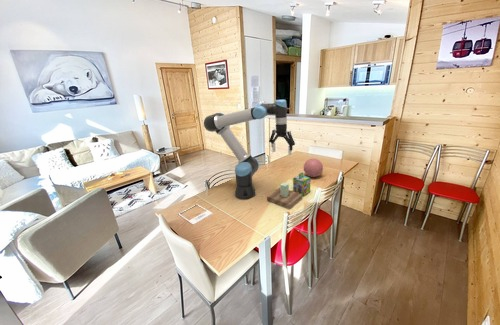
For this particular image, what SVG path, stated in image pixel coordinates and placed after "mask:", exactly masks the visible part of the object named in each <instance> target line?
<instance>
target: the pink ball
mask: <svg viewBox="0 0 500 325" xmlns="http://www.w3.org/2000/svg"><path fill="white" fill-rule="evenodd" d="M323 170H324V165H323V163H322V162H321V161H320V159H318V158H310V159H308V160H306V161H305V162H304V164H303V171H304V174H306V175H307V177H309V178H316V177H319V176H320V175H321V174H322V172H323Z"/></svg>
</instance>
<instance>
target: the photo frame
mask: <svg viewBox="0 0 500 325" xmlns="http://www.w3.org/2000/svg"><path fill="white" fill-rule="evenodd" d="M195 205H196V206H197V207H199V208H200V207H201V209H202V210H203V212H202V213H200V214H198V215H196V216H195V217H193V218H191V219H188V218H187V217H185V216H183V215H182V214H181V213H184V212H186V211H187V210H189V209H191V208H193V207H195ZM195 205H192V206H191V207H189V208H186V209H185V210H182V211H181V212H179V213H178V214H179V215H178V216H180V217H181V218H182V219H184V220H185V221H187V222H189V223H190V224H191V225H192V226H194V225H196V224H197V223H199V222H201V221H203V220H205V219H206V218H208V217H211V215H213V212H212V211H210V210H208V209H206V208H205V207H203V206H201V205H199V204H198V203H197V204H195ZM204 218H205V219H204Z"/></svg>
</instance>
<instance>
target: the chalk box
mask: <svg viewBox="0 0 500 325" xmlns="http://www.w3.org/2000/svg"><path fill="white" fill-rule="evenodd" d="M311 178H312V177H310V176H308V175H307V176H306V175H304V173H303V172H300V173H299V174H298V175H297V176H294V177H293V178H292V187H293V188H292V190H293V192H296V193H300V194H302V197H305V196H306V195H308V194H309V193H311Z"/></svg>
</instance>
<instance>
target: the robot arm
mask: <svg viewBox="0 0 500 325" xmlns="http://www.w3.org/2000/svg"><path fill="white" fill-rule="evenodd" d="M287 110H288V106H287V100H286V99H276V100H275V101H274V103H259V104H257V106H254V107H250V108H247V109H242V110H239V111H235V112H230V113H226V114H225V113H222V112H216V113H213V114H211V115H208V116H206V117H204V120H203V127H204V128H205V130H206V131H208V132H212V133H213V132H215V134H216V135H219V136H220V137H221V138H222V139H223V140H224V142H225V143H226V145H227V146H228V148H229V149H230V151H231V152H232V153H233V155H234V156H235V158H236V159H237V160H238V163H237V164H236V165H235V167H234V173H235V182H236V187H235V190H234V191H235V192H234V195H235V197H236V198H237V199H239V200H248V199H249V200H250V199H252V198H253V197H255V196H256V189H255V186H254V184H253V176H254V175H255V174H256V173H257V172H258V170H259V167H260V163H259V160H258V159H257V158H256V157H253V156H252V155H251V154H249V153H248V152H247V151H246V150H245V148H244V147H243V145H242V144H241V142H240V141H239V139H238V138H237V137H236V136H235V134H234V132H233V131H232V130H231V128H230V126H233V125H237V124H242V123H246V122H247V123H248V122H250V121H254V120H262V119H264V118H265V117H267V116H275V117H274V118H275V129H272V130H271V135H270V137H269V139H268V143H271V144H270V145H271V149H272V151H271V152H272V153H275V152H276V141H277V139H279V138H283V139H284V140H285V142H286V143H287V144H288V150H287V151H288V152H287V153H288V155H287V156H291V155H292V154H293V153H292V151H293V146H295V145H296V142H295V141H294V138H293V135H292V131H291V130H287V129H288V127H287V126H288V124H287V123H288V120H287V119H288V117H287V115H288V112H287Z"/></svg>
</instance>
